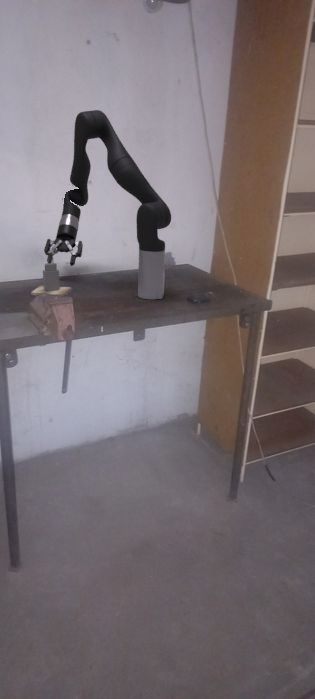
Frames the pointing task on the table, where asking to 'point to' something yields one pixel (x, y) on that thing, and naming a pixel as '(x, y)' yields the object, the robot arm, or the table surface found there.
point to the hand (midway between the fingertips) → (60, 264)
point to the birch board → (58, 292)
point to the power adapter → (51, 277)
